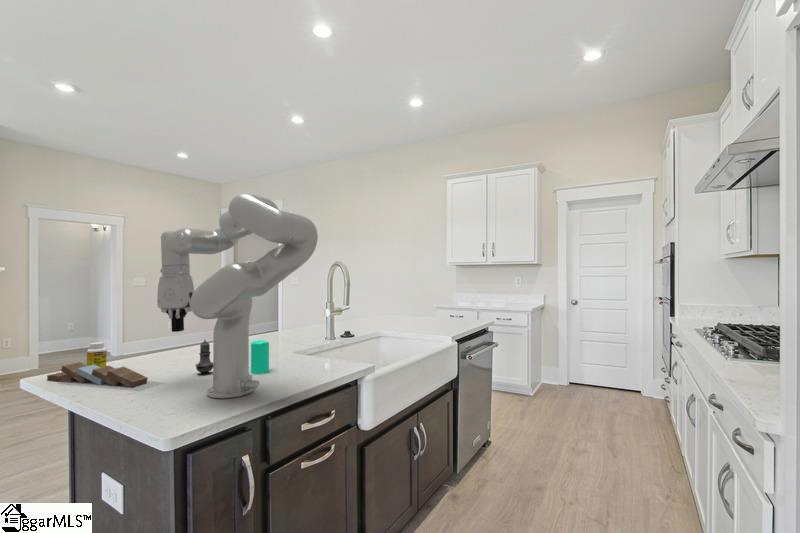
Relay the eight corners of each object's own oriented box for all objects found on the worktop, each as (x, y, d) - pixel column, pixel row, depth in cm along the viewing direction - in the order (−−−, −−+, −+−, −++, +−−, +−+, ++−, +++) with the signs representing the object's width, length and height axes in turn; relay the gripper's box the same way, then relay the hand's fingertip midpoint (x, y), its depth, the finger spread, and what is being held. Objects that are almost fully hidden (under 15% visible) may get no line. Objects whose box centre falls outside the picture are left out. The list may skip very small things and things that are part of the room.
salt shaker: (206, 377, 133) (206, 341, 133) (191, 376, 134) (191, 340, 134) (218, 373, 139) (218, 338, 139) (203, 372, 140) (203, 337, 140)
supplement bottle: (92, 374, 137) (92, 344, 137) (83, 373, 139) (83, 343, 139) (110, 371, 142) (110, 342, 142) (100, 369, 144) (100, 341, 144)
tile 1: (147, 377, 125) (123, 366, 127) (132, 382, 120) (107, 370, 122) (146, 383, 125) (122, 371, 127) (131, 387, 120) (106, 375, 122)
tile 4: (101, 374, 129) (79, 362, 132) (84, 378, 124) (62, 365, 127) (99, 379, 129) (77, 367, 132) (83, 383, 124) (60, 370, 127)
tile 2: (132, 376, 126) (108, 365, 129) (116, 380, 121) (92, 369, 124) (131, 382, 126) (107, 370, 129) (115, 386, 121) (91, 374, 124)
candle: (251, 370, 142) (251, 336, 142) (269, 369, 144) (269, 335, 144) (250, 374, 136) (250, 339, 136) (268, 373, 138) (268, 338, 138)
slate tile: (117, 375, 128) (94, 364, 130) (101, 379, 123) (77, 368, 125) (116, 380, 128) (93, 369, 130) (100, 385, 123) (76, 373, 125)
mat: (165, 383, 125) (165, 382, 125) (139, 392, 117) (139, 391, 117) (86, 377, 133) (86, 376, 133) (57, 384, 125) (57, 383, 125)
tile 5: (87, 372, 131) (64, 371, 133) (71, 376, 126) (47, 375, 128) (87, 378, 131) (64, 376, 133) (71, 382, 126) (47, 380, 128)
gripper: (145, 272, 121) (147, 333, 121) (187, 270, 118) (189, 332, 118) (165, 272, 129) (167, 330, 128) (205, 270, 125) (207, 329, 125)
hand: (177, 331), depth 123 cm, fingers closed
